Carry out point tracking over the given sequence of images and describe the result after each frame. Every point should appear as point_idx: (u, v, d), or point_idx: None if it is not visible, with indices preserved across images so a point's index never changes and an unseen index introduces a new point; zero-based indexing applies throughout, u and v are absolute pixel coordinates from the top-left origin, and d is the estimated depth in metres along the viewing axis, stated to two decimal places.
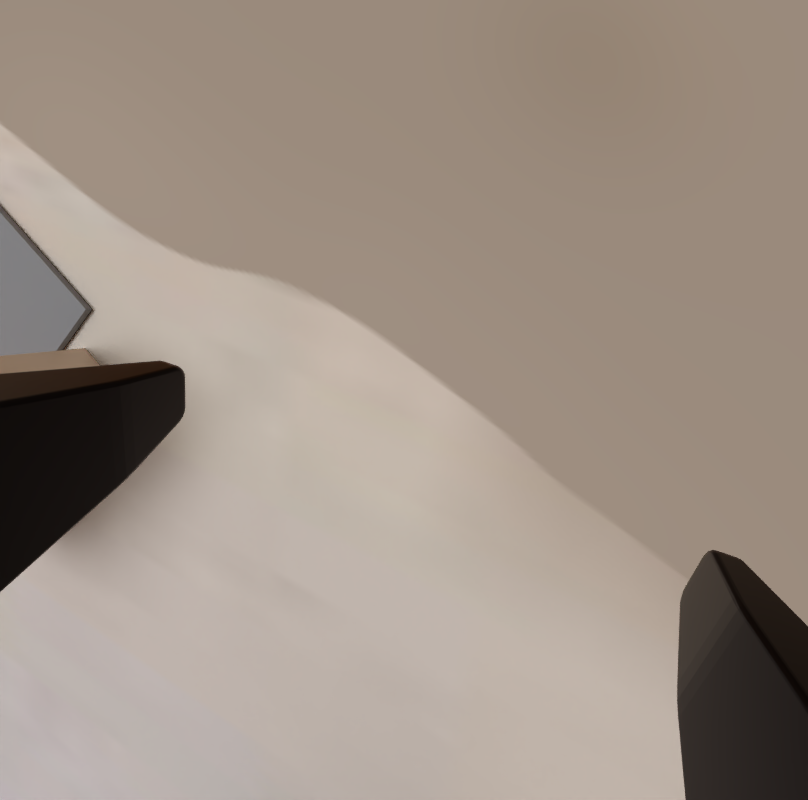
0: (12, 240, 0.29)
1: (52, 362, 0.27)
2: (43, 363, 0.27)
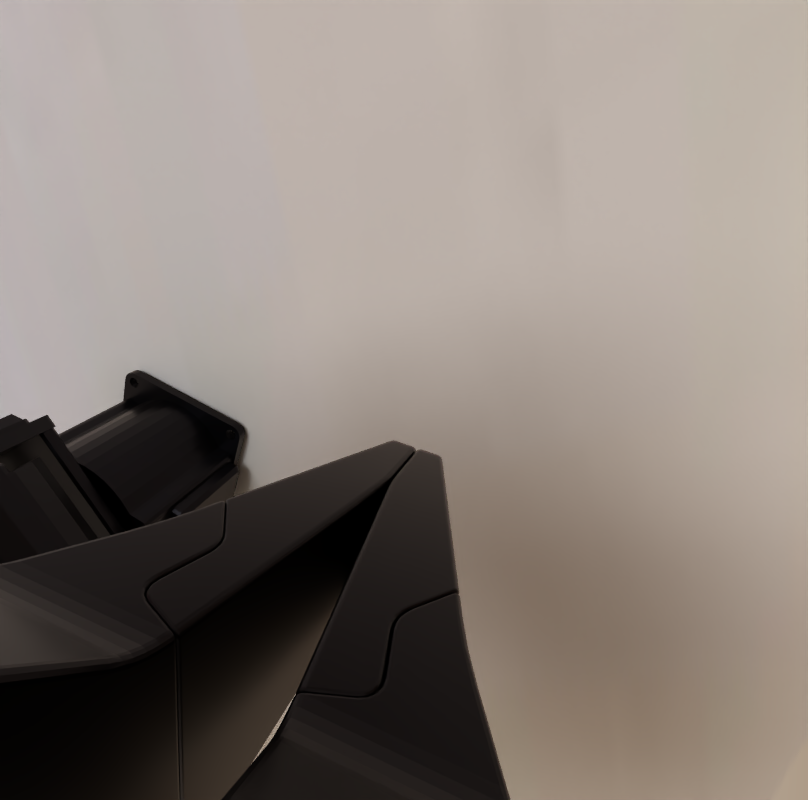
0: None
1: None
2: None
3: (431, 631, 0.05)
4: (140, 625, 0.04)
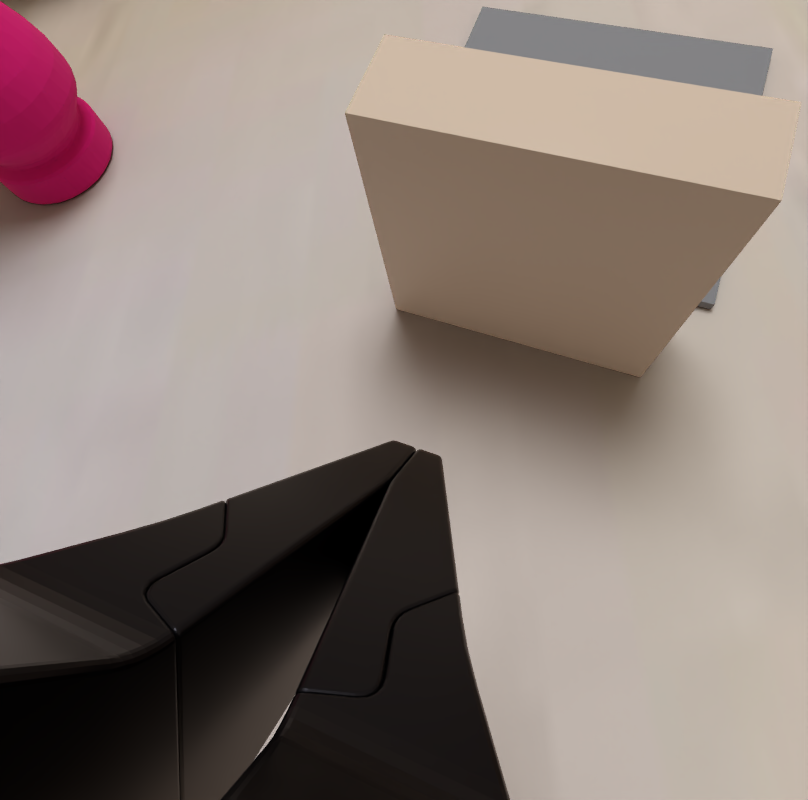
0: None
1: None
2: None
3: (431, 630, 0.05)
4: (141, 624, 0.04)
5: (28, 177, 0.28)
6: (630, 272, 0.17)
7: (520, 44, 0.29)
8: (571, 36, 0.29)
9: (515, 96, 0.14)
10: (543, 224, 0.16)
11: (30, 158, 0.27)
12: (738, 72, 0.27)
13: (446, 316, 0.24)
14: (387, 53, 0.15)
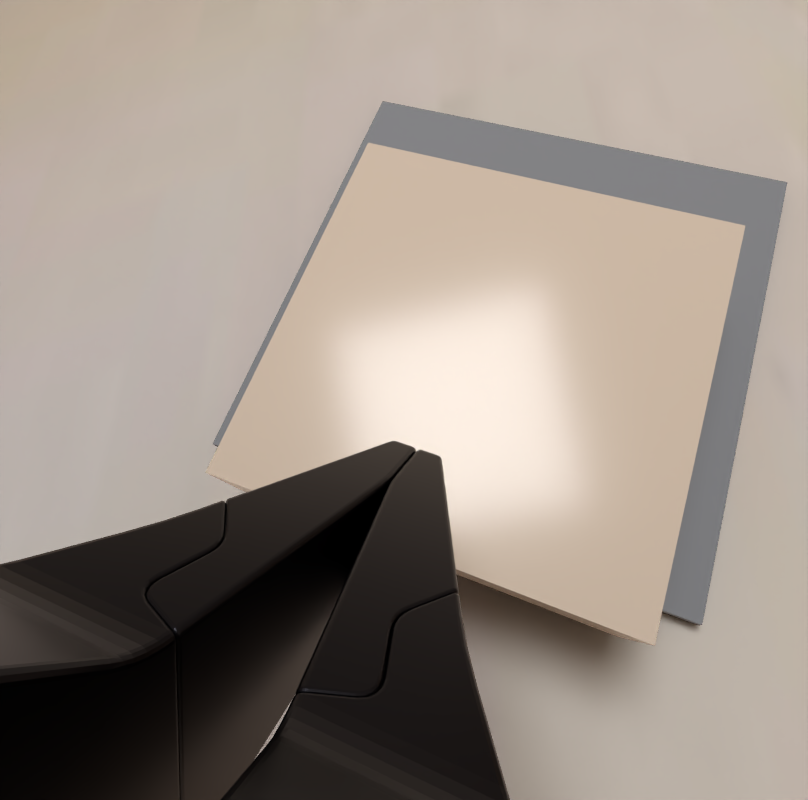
0: (717, 422, 0.16)
1: None
2: None
3: (431, 631, 0.05)
4: (141, 624, 0.04)
5: None
6: (623, 330, 0.14)
7: None
8: (501, 151, 0.20)
9: None
10: (526, 261, 0.15)
11: None
12: (737, 218, 0.18)
13: None
14: None
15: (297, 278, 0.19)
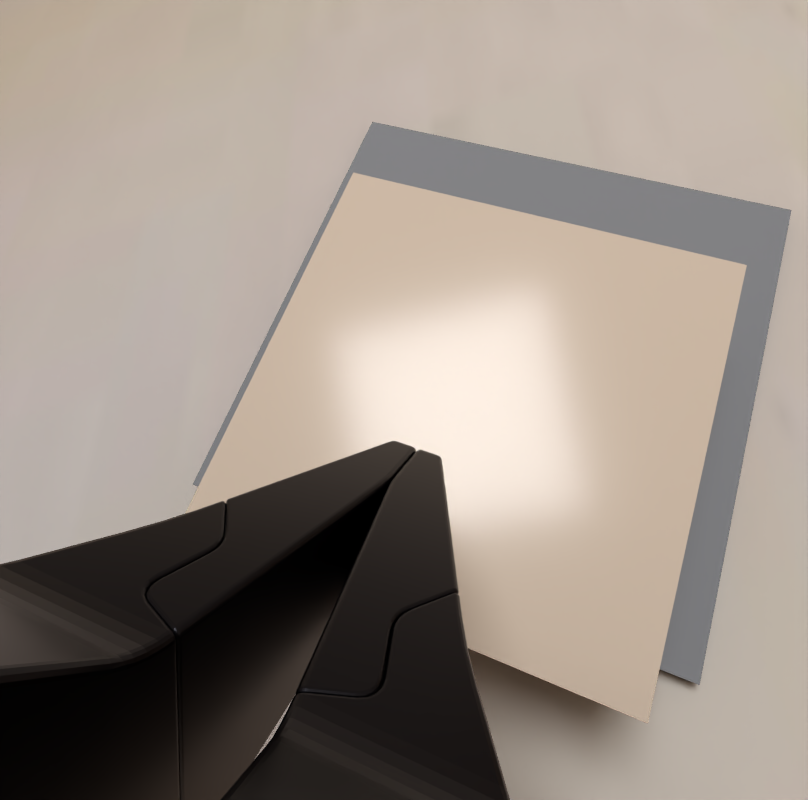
0: (717, 466, 0.15)
1: None
2: None
3: (431, 631, 0.05)
4: (141, 624, 0.04)
5: None
6: (617, 377, 0.13)
7: (420, 184, 0.20)
8: (494, 175, 0.20)
9: None
10: (516, 301, 0.14)
11: None
12: (739, 248, 0.18)
13: None
14: None
15: (282, 309, 0.19)
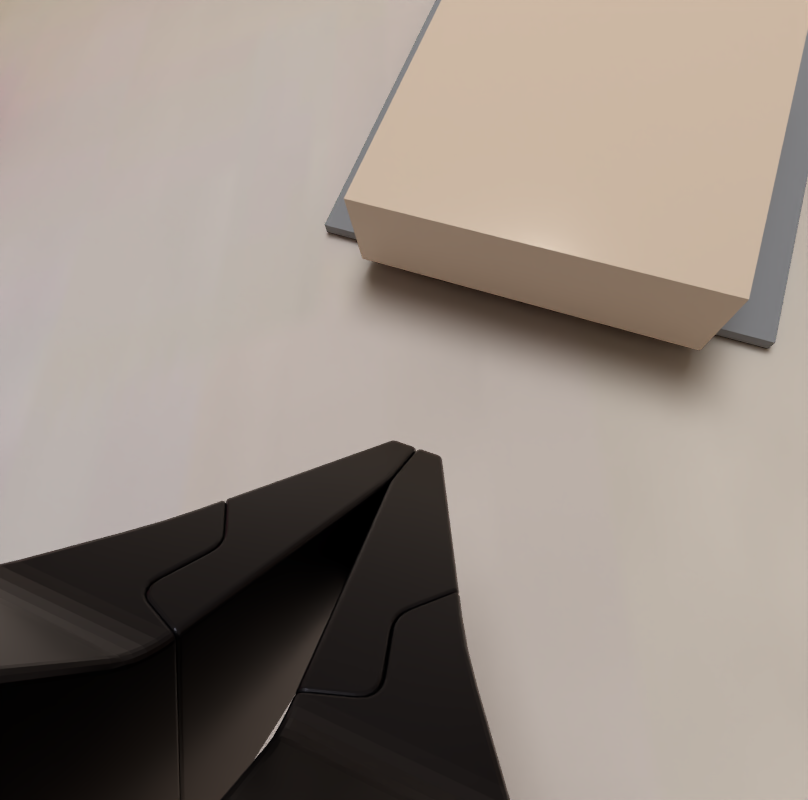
0: (784, 188, 0.18)
1: None
2: None
3: (431, 631, 0.05)
4: (141, 625, 0.04)
5: None
6: (709, 75, 0.16)
7: None
8: None
9: None
10: (619, 28, 0.17)
11: None
12: None
13: (432, 199, 0.15)
14: None
15: (392, 93, 0.21)
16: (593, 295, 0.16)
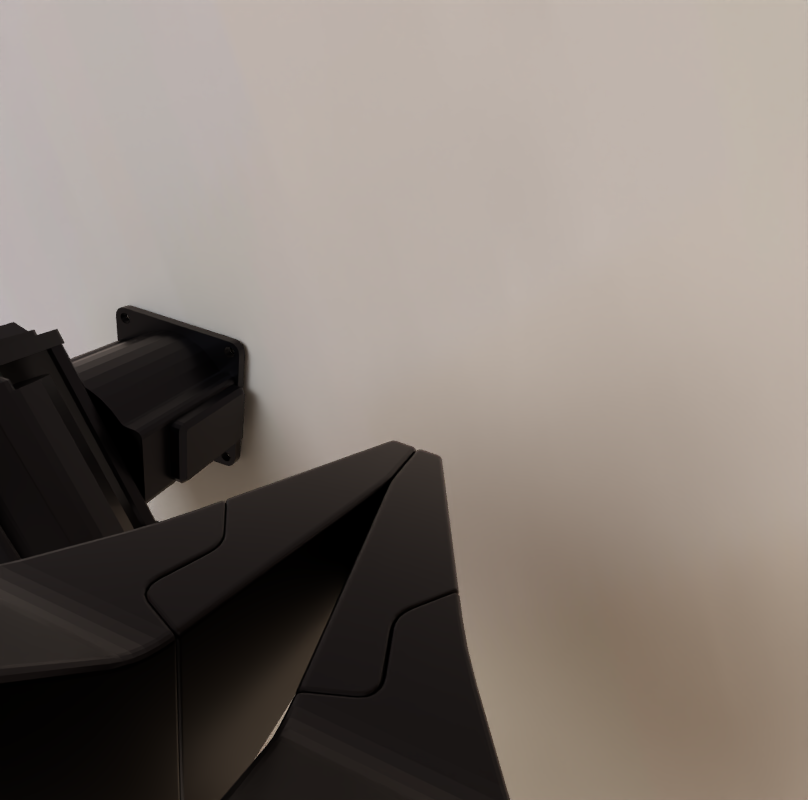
0: None
1: None
2: None
3: (431, 631, 0.05)
4: (141, 624, 0.04)
5: None
6: None
7: None
8: None
9: None
10: None
11: None
12: None
13: None
14: None
15: None
16: None
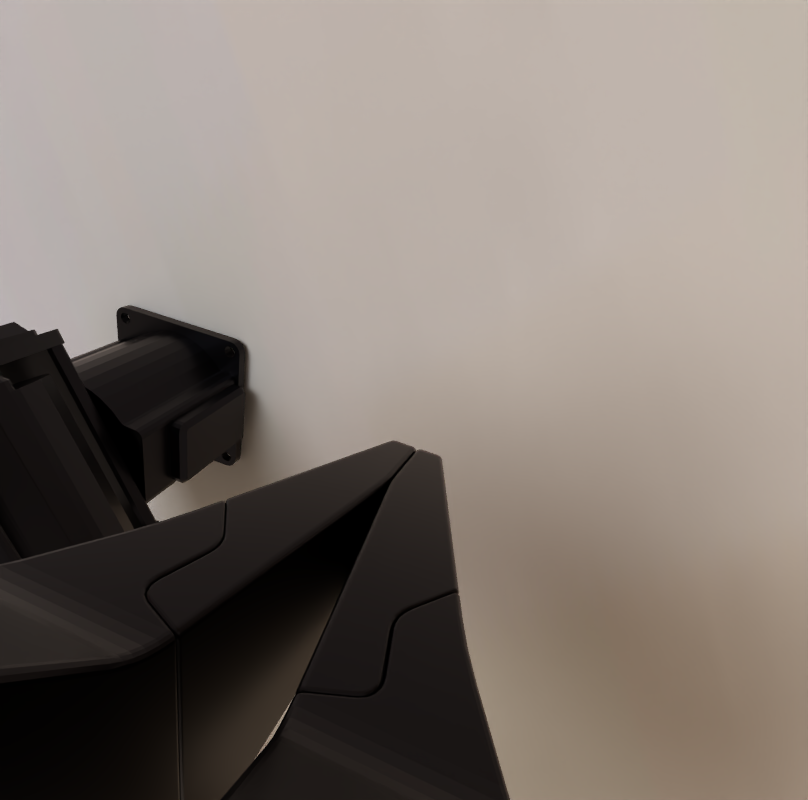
0: None
1: None
2: None
3: (431, 631, 0.05)
4: (141, 624, 0.04)
5: None
6: None
7: None
8: None
9: None
10: None
11: None
12: None
13: None
14: None
15: None
16: None
